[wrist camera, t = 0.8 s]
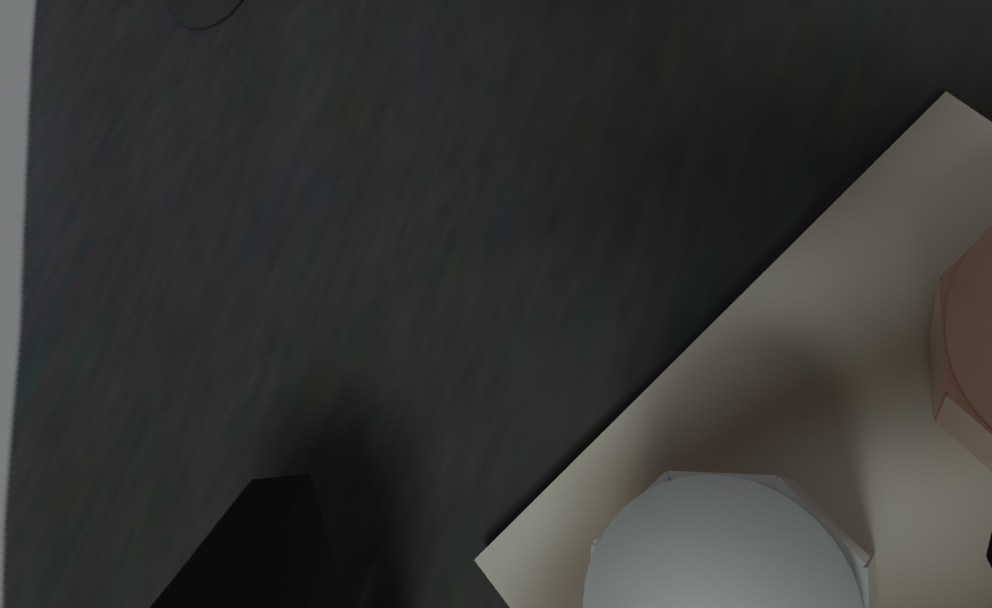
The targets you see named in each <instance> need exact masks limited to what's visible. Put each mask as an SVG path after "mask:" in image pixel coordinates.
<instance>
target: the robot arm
mask: <svg viewBox="0 0 992 608" xmlns="http://www.w3.org/2000/svg"><path fill="white" fill-rule="evenodd" d="M986 557H987V560H988V562H989V564H990V566H991V568H992V532H991V537H990V541H989V545H988V549H987V554H986ZM150 608H347V607H346V603H345V600H344V596H343V592H342V589H341V585H340V581H339V578H338V574H337V570H336V567H335V563H334V559H333V556H332V552H331V548H330V544H329V541H328V537H327V533H326V530H325V526H324V522H323V519H322V515H321V511H320V508H319V504H318V500H317V497H316V493H315V489H314V485H313V482H312V478H311V474H306V475H296V476H285V477H274V478H264V479H253V480H252V481H251V482H250V483H249V484H248V485H247V487H246V488H245V489H244V490H243V491H242V493H241V494H240V495H239V496H238V498H237V499H236V500H235V501H234V502H233V504H232V505H231V506H230V507H229V509H228V510H227V511H226V512H225V514H224V515H223V516H222V518H221V519H220V520H219V521H218V523H217V524H216V525H215V526H214V528H213V529H212V530H211V531H210V533H209V534H208V535H207V537H206V538H205V539H204V540H203V542H202V543H201V544H200V546H199V547H198V548H197V549H196V551H195V552H194V553H193V554H192V556H191V557H190V558H189V559H188V561H187V562H186V563H185V564H184V566H183V567H182V568H181V569H180V571H179V572H178V573H177V575H176V576H175V577H174V578H173V580H172V581H171V582H170V583H169V585H168V586H167V587H166V588H165V590H164V591H163V592H162V593H161V594H160V596H159V597H158V598H157V599H156V600H155V602H154V603H153V604H152V605H151V606H150Z"/></svg>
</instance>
